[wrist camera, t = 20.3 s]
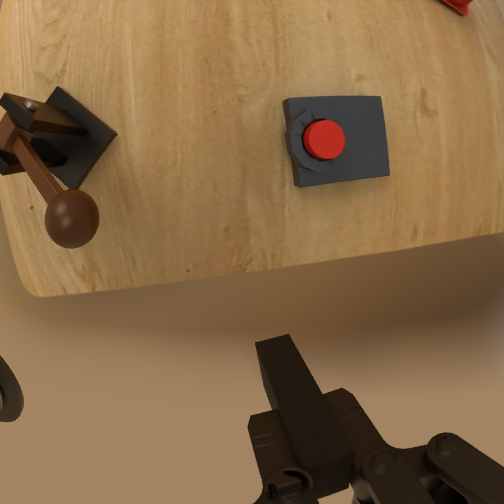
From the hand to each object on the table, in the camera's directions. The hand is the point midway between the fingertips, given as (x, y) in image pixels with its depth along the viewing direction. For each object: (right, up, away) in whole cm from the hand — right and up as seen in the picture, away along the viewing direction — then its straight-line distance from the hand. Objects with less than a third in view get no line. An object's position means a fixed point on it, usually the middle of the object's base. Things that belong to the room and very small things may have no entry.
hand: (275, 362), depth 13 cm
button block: (+9, +18, +21) cm, 29 cm away
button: (+6, +17, +17) cm, 25 cm away
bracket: (-22, +18, +15) cm, 32 cm away
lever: (-16, +11, +6) cm, 20 cm away
